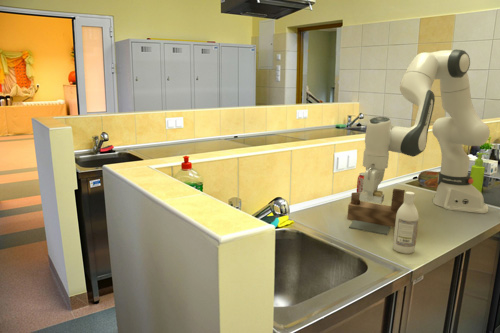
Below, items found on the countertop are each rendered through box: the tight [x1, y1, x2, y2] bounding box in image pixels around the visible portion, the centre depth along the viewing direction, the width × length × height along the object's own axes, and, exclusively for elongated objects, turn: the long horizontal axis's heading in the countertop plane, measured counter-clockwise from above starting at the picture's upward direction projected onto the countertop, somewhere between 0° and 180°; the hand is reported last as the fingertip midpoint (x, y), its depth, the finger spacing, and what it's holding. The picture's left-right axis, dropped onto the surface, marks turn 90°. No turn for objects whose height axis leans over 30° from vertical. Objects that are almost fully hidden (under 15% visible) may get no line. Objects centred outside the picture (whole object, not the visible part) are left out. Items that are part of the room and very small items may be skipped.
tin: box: [417, 170, 440, 189], centre depth 213 cm, size 15×3×8 cm, turn 73°
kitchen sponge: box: [359, 190, 385, 205], centre depth 153 cm, size 8×5×4 cm, turn 63°
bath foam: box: [392, 191, 420, 254], centre depth 135 cm, size 7×7×20 cm
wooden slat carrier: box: [346, 188, 406, 228], centre depth 162 cm, size 20×7×14 cm, turn 63°
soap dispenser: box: [469, 152, 490, 193], centre depth 203 cm, size 6×7×20 cm
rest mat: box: [348, 220, 392, 236], centre depth 155 cm, size 14×8×1 cm, turn 63°
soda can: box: [356, 172, 365, 193], centre depth 190 cm, size 7×7×12 cm
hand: (371, 197), depth 153 cm, fingers closed on kitchen sponge, 5 cm apart
